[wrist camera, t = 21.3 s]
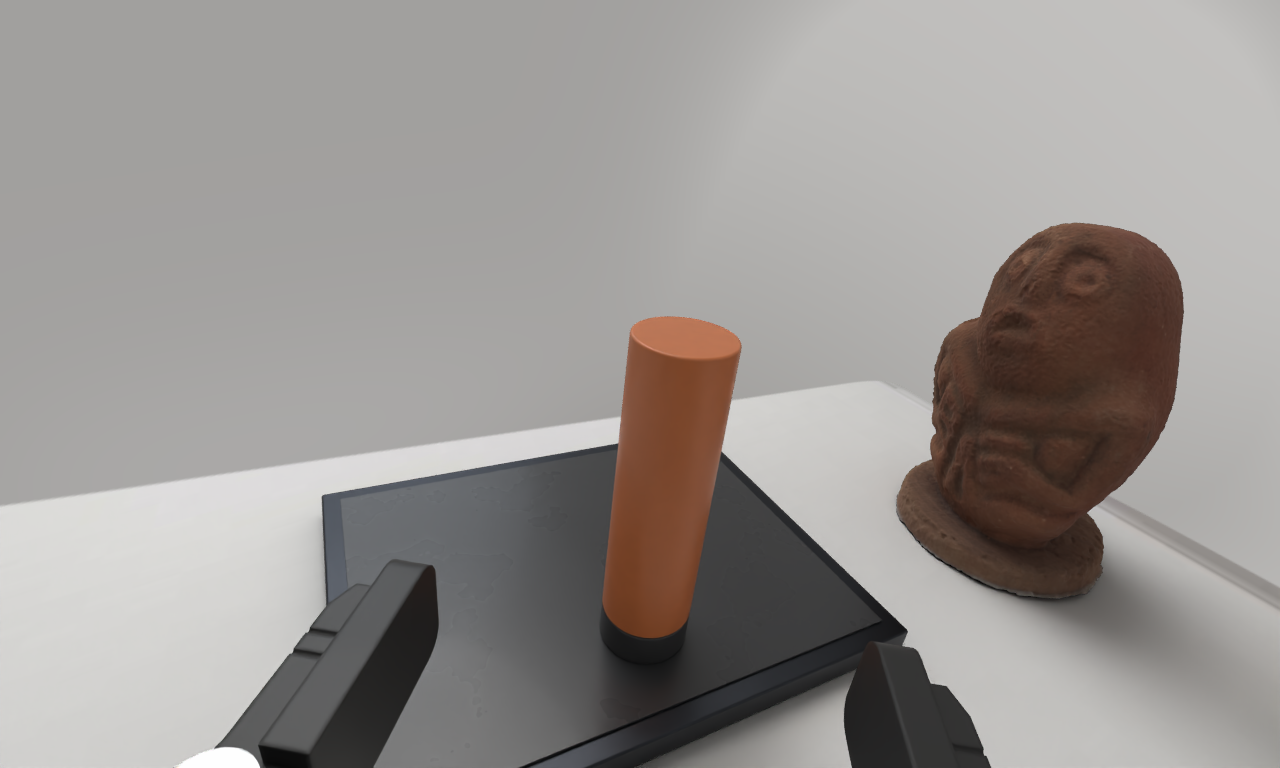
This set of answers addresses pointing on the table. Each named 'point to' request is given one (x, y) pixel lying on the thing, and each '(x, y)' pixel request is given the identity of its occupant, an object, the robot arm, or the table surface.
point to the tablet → (590, 615)
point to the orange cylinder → (664, 481)
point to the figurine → (1047, 408)
